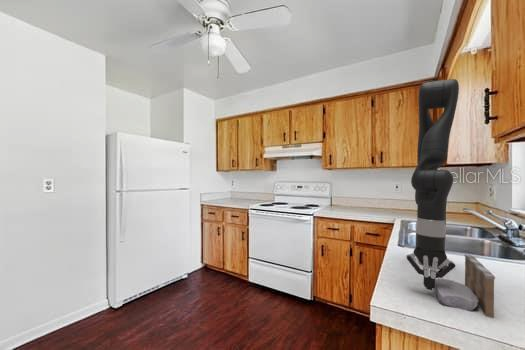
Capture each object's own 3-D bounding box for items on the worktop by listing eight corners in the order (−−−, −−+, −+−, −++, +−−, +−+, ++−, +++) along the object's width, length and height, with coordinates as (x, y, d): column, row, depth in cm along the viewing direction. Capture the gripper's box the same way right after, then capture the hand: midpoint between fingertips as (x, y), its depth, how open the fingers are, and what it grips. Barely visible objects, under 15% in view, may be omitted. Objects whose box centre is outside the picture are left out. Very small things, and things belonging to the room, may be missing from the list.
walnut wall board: (464, 285, 80) (464, 253, 80) (471, 286, 79) (471, 254, 79) (485, 315, 63) (485, 275, 63) (494, 317, 62) (494, 276, 62)
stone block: (468, 300, 74) (430, 286, 79) (472, 286, 73) (434, 273, 78) (481, 322, 64) (436, 305, 68) (486, 306, 63) (441, 289, 67)
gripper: (454, 233, 74) (452, 289, 74) (405, 228, 80) (403, 279, 80) (460, 239, 68) (458, 300, 67) (406, 232, 74) (404, 288, 74)
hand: (428, 288), depth 74 cm, fingers closed
